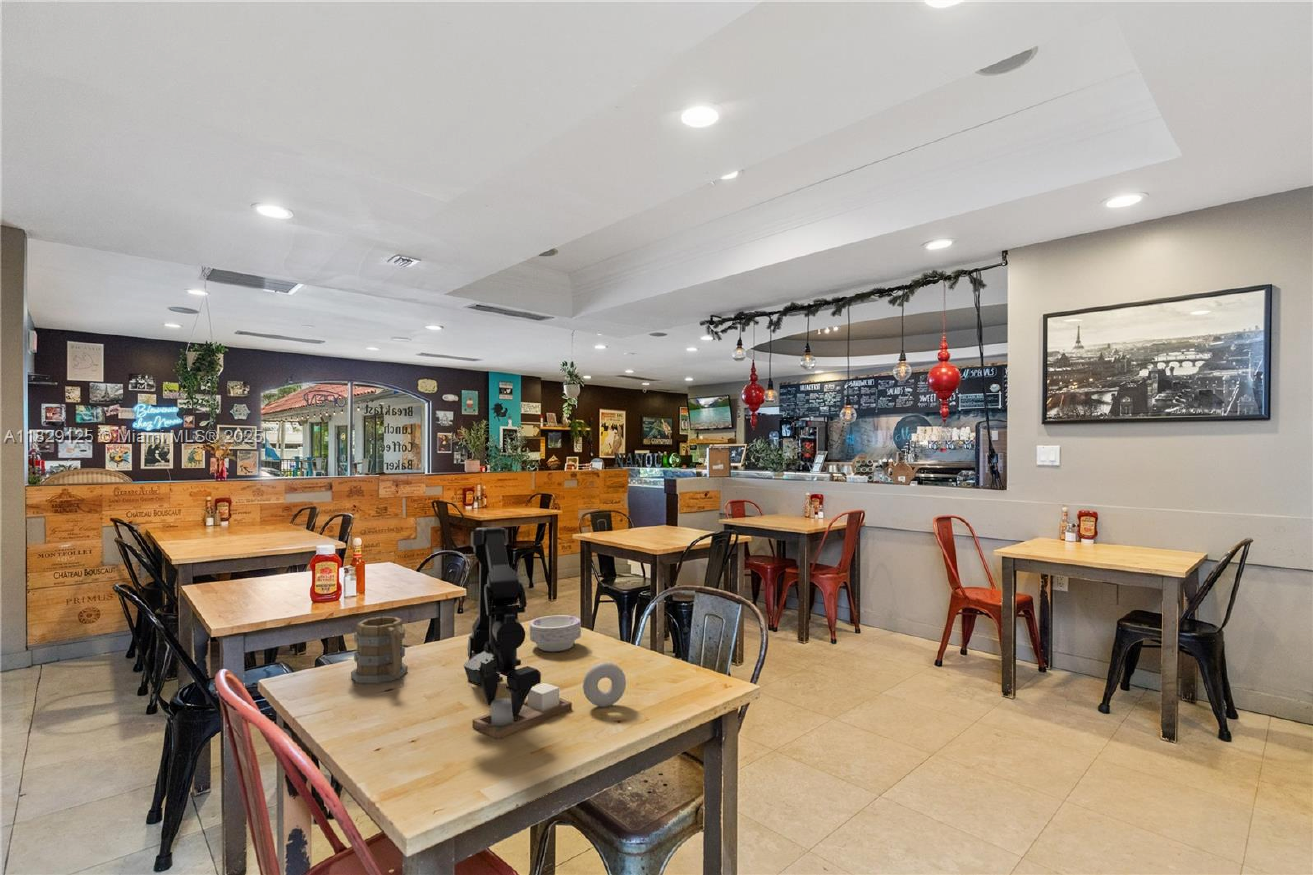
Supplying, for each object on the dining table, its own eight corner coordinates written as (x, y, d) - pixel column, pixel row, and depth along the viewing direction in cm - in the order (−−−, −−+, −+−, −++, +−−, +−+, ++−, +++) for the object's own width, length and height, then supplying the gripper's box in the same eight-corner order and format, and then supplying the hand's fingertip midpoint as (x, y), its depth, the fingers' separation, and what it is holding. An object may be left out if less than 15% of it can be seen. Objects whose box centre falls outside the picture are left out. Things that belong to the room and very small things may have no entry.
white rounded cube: (527, 711, 146) (527, 688, 146) (544, 704, 150) (544, 682, 150) (542, 716, 143) (542, 694, 143) (559, 709, 147) (559, 687, 147)
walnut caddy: (472, 726, 137) (472, 719, 138) (546, 699, 153) (546, 692, 153) (497, 739, 132) (497, 731, 132) (571, 709, 147) (571, 702, 147)
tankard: (346, 674, 170) (347, 616, 170) (395, 663, 178) (395, 609, 179) (372, 695, 155) (372, 632, 155) (424, 683, 163) (424, 623, 164)
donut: (584, 711, 145) (584, 666, 146) (581, 705, 149) (581, 662, 149) (627, 706, 148) (627, 662, 148) (624, 701, 151) (624, 658, 152)
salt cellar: (486, 726, 138) (486, 703, 138) (504, 719, 141) (505, 696, 141) (499, 733, 135) (499, 708, 135) (518, 725, 138) (518, 702, 138)
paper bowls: (525, 643, 198) (525, 616, 198) (574, 637, 203) (574, 612, 203) (534, 657, 183) (534, 629, 183) (586, 651, 189) (586, 624, 189)
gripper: (445, 637, 138) (445, 710, 138) (497, 655, 126) (497, 735, 126) (489, 626, 147) (489, 695, 146) (542, 642, 135) (542, 717, 134)
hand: (502, 710), depth 138 cm, fingers open, 8 cm apart
